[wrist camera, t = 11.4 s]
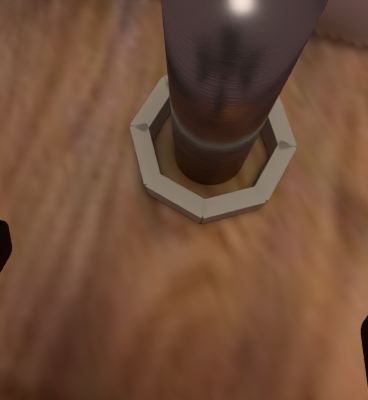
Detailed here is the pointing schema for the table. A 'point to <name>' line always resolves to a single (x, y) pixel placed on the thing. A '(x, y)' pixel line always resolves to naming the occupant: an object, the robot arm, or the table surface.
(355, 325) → the table surface
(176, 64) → the dark glossy cylinder
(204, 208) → the ring
